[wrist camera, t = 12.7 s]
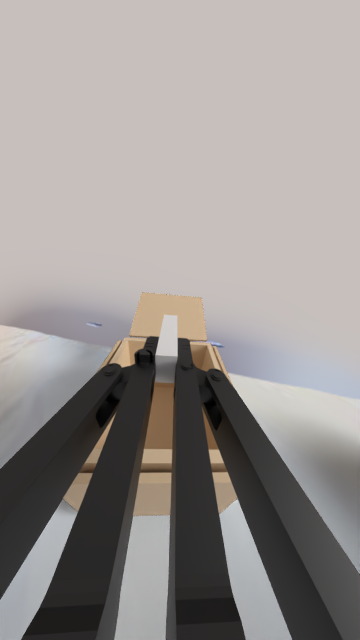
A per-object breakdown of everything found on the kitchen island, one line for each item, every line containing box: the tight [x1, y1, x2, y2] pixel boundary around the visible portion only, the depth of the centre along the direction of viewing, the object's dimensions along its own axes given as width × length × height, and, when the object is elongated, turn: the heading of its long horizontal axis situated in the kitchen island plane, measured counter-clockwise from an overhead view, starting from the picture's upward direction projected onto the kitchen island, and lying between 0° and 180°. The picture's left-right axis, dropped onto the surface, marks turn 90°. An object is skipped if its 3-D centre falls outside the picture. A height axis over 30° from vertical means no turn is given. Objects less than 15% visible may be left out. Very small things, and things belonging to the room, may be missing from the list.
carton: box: [63, 338, 237, 516], centre depth 20 cm, size 18×17×13 cm
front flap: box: [129, 292, 207, 342], centre depth 28 cm, size 15×1×12 cm
